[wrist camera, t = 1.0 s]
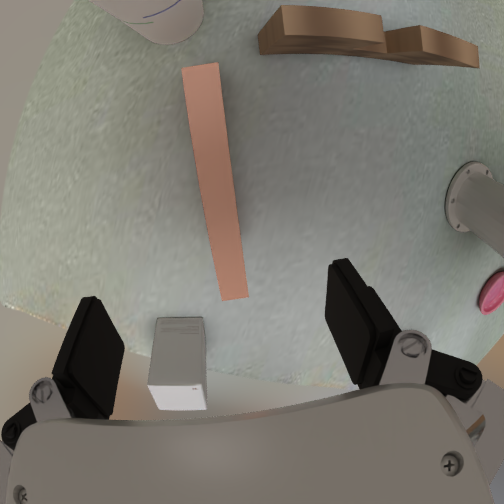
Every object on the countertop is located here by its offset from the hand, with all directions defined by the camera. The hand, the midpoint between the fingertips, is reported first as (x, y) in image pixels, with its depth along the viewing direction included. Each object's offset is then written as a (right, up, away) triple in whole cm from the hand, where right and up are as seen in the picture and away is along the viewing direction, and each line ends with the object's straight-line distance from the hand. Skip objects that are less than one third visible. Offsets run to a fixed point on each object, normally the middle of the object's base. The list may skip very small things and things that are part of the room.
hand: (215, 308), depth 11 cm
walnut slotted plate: (+12, +26, +14) cm, 32 cm away
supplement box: (-10, -11, +34) cm, 37 cm away
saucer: (+60, -6, +41) cm, 73 cm away
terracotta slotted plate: (-2, +13, +21) cm, 24 cm away
